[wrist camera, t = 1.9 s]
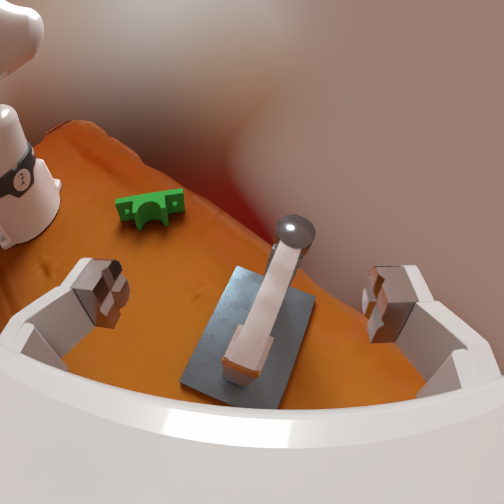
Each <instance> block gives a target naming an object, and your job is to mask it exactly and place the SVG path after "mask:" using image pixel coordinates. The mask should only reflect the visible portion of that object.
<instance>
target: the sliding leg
mask: <svg viewBox="0 0 504 504" xmlns="http://www.w3.org/2000/svg"><path fill="white" fill-rule="evenodd" d="M242 328H243V325H241V324H239V325H238V326H237V328H236V330H235V332H234V335H233V337H232V339H231V341H230V343H229V346H228V348H227V350H226V352H225V354H224V356H223V359H222V365H223V372H222V378H223V379H226V380H228V381H230V382H233V383H235V384H238V385H240V386H243V387H245V388H246V387H247V386H248V385H249V384H250V383H251V382H252V381H253V380H254V379H255V378H257V377H258V376H259V375H260V373H261V371H262V368H263V366H264V363H265V361H266V358H267V356H268V353H269V350H270V348H271V345H272V343H273V339H274V337H271V336H269V338H268V340H267V343H266V345H265V348H264V350H263V353H262V355H261V358H260V360H259V363H258V365H257V368H256V370H255V372H254V373H253V374H251V373H248V372H245V371H243V370H241V369H238V368H236V367H233V366H231V365H228V359H229V357H230V355H231V353H232V351H233V348H234V346H235V344H236V342H237V339H238V337H239V335H240V333H241V330H242Z"/></svg>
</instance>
